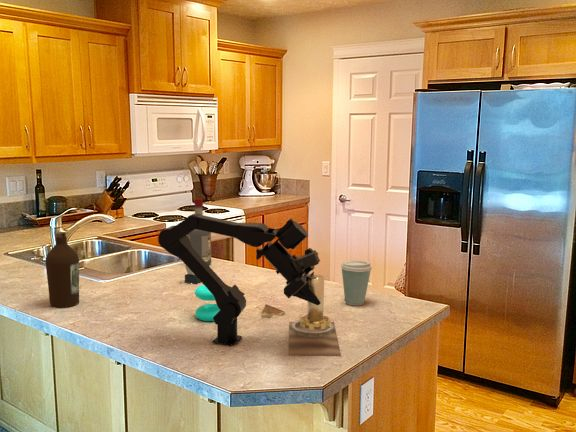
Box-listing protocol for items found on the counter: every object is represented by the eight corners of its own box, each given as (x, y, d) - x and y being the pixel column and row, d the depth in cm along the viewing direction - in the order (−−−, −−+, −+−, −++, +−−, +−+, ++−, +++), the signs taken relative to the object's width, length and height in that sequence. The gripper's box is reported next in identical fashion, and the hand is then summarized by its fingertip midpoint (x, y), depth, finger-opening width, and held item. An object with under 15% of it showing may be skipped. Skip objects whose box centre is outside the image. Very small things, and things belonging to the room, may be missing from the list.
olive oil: (42, 308, 184) (38, 235, 180) (55, 299, 195) (51, 230, 191) (75, 308, 184) (71, 235, 181) (85, 299, 195) (82, 230, 191)
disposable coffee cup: (333, 303, 193) (334, 261, 191) (352, 296, 201) (353, 256, 199) (358, 310, 186) (359, 267, 184) (376, 302, 194) (377, 261, 192)
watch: (205, 280, 220) (205, 253, 219) (193, 285, 213) (193, 257, 212) (194, 278, 223) (193, 252, 221) (181, 283, 216) (181, 256, 214)
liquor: (186, 267, 240) (184, 199, 236) (193, 262, 249) (192, 197, 245) (206, 268, 239) (205, 200, 234) (212, 263, 248) (211, 198, 243)
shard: (265, 308, 188) (265, 303, 188) (287, 309, 187) (287, 304, 187) (260, 319, 178) (260, 313, 177) (283, 320, 177) (283, 314, 177)
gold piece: (326, 331, 147) (327, 282, 145) (296, 327, 150) (297, 279, 148) (333, 320, 155) (334, 274, 153) (304, 317, 158) (305, 271, 156)
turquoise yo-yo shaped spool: (230, 289, 174) (199, 293, 170) (230, 320, 175) (199, 324, 171) (221, 281, 183) (191, 284, 179) (221, 310, 184) (192, 314, 180)
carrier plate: (341, 359, 146) (341, 351, 145) (288, 359, 146) (288, 351, 145) (333, 325, 171) (334, 318, 171) (289, 324, 171) (289, 317, 171)
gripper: (296, 248, 141) (338, 292, 140) (307, 234, 159) (344, 274, 158) (266, 276, 143) (307, 319, 143) (280, 259, 161) (317, 298, 161)
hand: (320, 301), depth 151 cm, fingers closed on gold piece, 4 cm apart
